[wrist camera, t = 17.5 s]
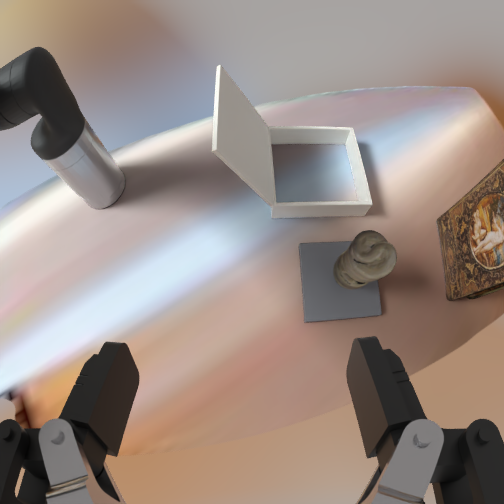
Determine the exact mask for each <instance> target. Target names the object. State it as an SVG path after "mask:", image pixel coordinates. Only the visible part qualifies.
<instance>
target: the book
mask: <svg viewBox="0 0 504 504" xmlns="http://www.w3.org/2000/svg"><path fill="white" fill-rule="evenodd" d="M436 223H437V228H438V234H439V240H440V247H441V253H442V261H443V269H444V278H445V287H446V296H447V299H448V300H456V299H459V298H462V297H465V296H467V298H468V299H475V298H478V297H481V296H484V295H487V294H490V293H492V292H495V291H498V290H501V289H504V159H503V160H502V161H501V162H500V163H499V164H498V165H497V166H496V167H495V168H494V169H493V170H492V171H491V172H490V173H489V174H487V175H486V176H485V177H484V178H483V179H482V180H481V181H480V182H479V183H478V184H477V185H476V186H475V187H474V188H472V189H471V190H470V191H469V192H468V193H467V194H466V195H465V196H464V197H462V198H461V199H460V200H459V201H458V202H457V203H456V204H455V205H453V206H452V207H451V208H450V209H449V210H448V211H446V212H445V213H444V214H443V215H442V216H441V217H439V218H438V219H437V221H436Z"/></svg>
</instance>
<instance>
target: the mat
mask: <svg viewBox="0 0 504 504" xmlns="http://www.w3.org/2000/svg"><path fill="white" fill-rule="evenodd" d="M351 242H352V241H346V242H320V243H300V244H299V255H300V267H301V280H302V293H303V308H304V323H305V322H318V321H330V320H342V319H352V318H362V317H371V316H379V315H382V314H381V304H380V295H379V286H378V280H375V281H372V282H369V283H368V284H366V285H364V286H363V287H360V288H358V289H353V290H350V289H345V288H343V287H341V286H340V285H339V284H338V283H337V282H336V280H335V278H334V274H333V267H334V264H335V262H336V260H337V259H338V257H339V256H340V255H341V254H342V253H343V252H344V251H346V250H347V249H348V247H349V246H350V244H351Z"/></svg>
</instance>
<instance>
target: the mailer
mask: <svg viewBox="0 0 504 504" xmlns="http://www.w3.org/2000/svg"><path fill="white" fill-rule="evenodd" d="M271 144H342V145H345V146H346V150H347V154H348V158H349V162H350V166H351V171H352V175H353V180H354V184H355V189H356V194H357V199H358V201H321V202H282V203H276V192H275V180H274V169H273V158H272V147H271ZM212 152H213V153H214V154H215V155H216V156H217V157H219V158H220V159H221V160H222V161H223V162H224V163H225V164H226V165H227V166H228V167H229V168H230V169H232V170H233V171H234V172H235V173H236V174H237V175H238V176H239V177H240V178H241V179H242V180H243V181H244V182H245V183H246V184H247V185H249V186H250V187H251V188H252V189H253V190H254V191H255V192H256V193H257V194H258V195H259V196H260V197H261V198H262V199H263V200H264V201H265V202H266V203H267V204H268V205H269V206H270V207H271V216H272V219H275V218H303V217H342V216H365V214H366V213H367V211H368V210H369V209H370V207H371V206H372V200H371V196H370V191H369V187H368V182H367V178H366V174H365V170H364V166H363V162H362V159H361V155H360V151H359V147H358V144H357V140H356V137H355V133H354V130H353V128H346V127H320V126H272V127H268V126H267V124H266V123H265V122H264V120H263V119H262V118H261V116H260V115H259V114H258V112H257V111H256V110H255V108H254V107H253V106H252V104H251V103H250V102H249V100H248V99H247V98H246V96H245V95H244V94H243V92H242V91H241V90H240V88H239V87H238V86H237V85H236V83H235V82H234V81H233V80H232V78H231V77H230V76H229V75H228V73H227V72H226V71H225V70H224V69H223V67H222V66H221V65H219V66H217V73H216V87H215V102H214V119H213V138H212Z"/></svg>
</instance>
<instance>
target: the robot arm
mask: <svg viewBox="0 0 504 504" xmlns="http://www.w3.org/2000/svg"><path fill="white" fill-rule="evenodd" d="M37 114H41V116H42V118H41V119H40V121H39V122H38V124H37V125H36V127H35V129H34V131H33V133H32V137H31V146H32V149H33V150H34V152H36V154H37V155H38V156H39V157H40V158H41V159H42V160H43V161H44V162H45V163H46V164H47V165H48V166H49V167H50V168H51V169H52V170H53V171H54V172H55V173H56V174H57V175H58V176H59V177H60V178H61V179H62V180H63V181H64V182H65V183H66V184H67V185H68V186H69V187H70V188H71V189H72V190H73V191H74V192H75V193H76V194H78V195H79V196H80V197H81V198H82V199H83V200H84V201H85V202H86V203H87V204H88V205H89V206H90V207H92V208H95V209H103V208H106V207H108V206H110V205H112V204H113V203H114V202H115V201H116V200H117V199H118V198H119V197H120V195H121V194H122V192H123V190H124V187H125V176H124V174H123V172H122V171H121V170H120V168H119V167H118V165H117V164H116V163H115V161H114V160H113V158H112V157H111V155H110V154H109V153H108V151H107V150H106V148H105V147H104V145H103V144H102V142H101V141H100V140H99V138H98V137H97V135H96V134H95V132H94V131H93V129H92V128H91V127H90V125H89V123H88V122H87V121H86V119H85V117H84V116H83V114H82V113H81V111H80V109H79V106H78V104H77V101H76V99H75V97H74V95H73V93H72V92H71V90H70V88H69V86H68V84H67V83H66V80H65V79H64V77H63V75H62V73H61V70H60V69H59V66H58V65H57V63H56V61H55V59H54V58H53V56H52V55H51V54H50V53H49V52H48V51H47V50H46V49H44V48H42V47H35V48H33V49H31V50H29V51H27V52H25V53H23V54H22V55H20V56H19V57H17V58H16V59H14V60H12V61H11V62H9V63H8V64H7V65H5V66H4V67H2V68H1V69H0V131H1V130H6V129H10V128H13V127H15V126H17V125H19V124H21V123H23V122H24V121H26V120H28V119H29V118H31V117H33V116H35V115H37ZM75 383H76V385H74V386H73V389H72V391H71V393H70V395H69V397H68V399H67V401H66V404H65V406H64V408H63V410H62V412H61V415H60V416H59V418H58V419H52V420H49V421H48V422H46V423H45V424H44V425H43V426H42V428H36V429H23V428H22V427H21V426H20V425H19V424H18V423H17V422H16V421H15V420H12V419H7V420H4V421H3V422H1V423H0V504H126V503H125V501H124V499H123V497H122V495H121V493H120V491H119V489H118V487H117V485H116V483H115V481H114V479H113V477H112V475H111V473H110V471H109V469H108V466H107V464H106V463H105V458H106V454H107V455H112V456H116V457H117V456H118V452H119V448H120V445H121V441H122V438H123V434H124V431H125V428H126V424H127V421H128V418H129V414H130V411H131V408H132V405H133V401H134V398H135V395H136V392H137V389H138V386H139V372H138V369H137V367H136V364H135V362H134V360H133V357H132V355H131V353H130V350H129V348H128V346H127V344H126V343H117V342H105V343H104V345H103V346H102V348H101V350H100V352H99V354H98V355H97V354H94V355H93V356H92V357H91V358H90V359H89V360H88V361H87V362H86V363H85V364H84V366H83V368H82V370H81V372H80V376H78V378H77V380H76V382H75ZM347 383H348V387H349V390H350V394H351V397H352V401H353V405H354V408H355V412H356V416H357V420H358V424H359V428H360V431H361V436H362V439H363V444H364V448H365V452H366V456H367V458H371V457H376V456H377V458H378V462H379V465H378V466H377V468H376V470H375V471H374V473H373V475H372V477H371V479H370V481H369V482H368V484H367V486H366V488H365V489H364V491H363V493H362V494H361V496H360V498H359V499H358V501H357V503H356V504H425V502H424V501H423V498H424V495H425V493H426V490H427V488H428V485H429V483H432V485H433V489H434V494H435V498H436V503H437V504H504V442H503V440H502V438H501V435H500V432H499V430H498V428H497V427H496V425H495V424H494V423H493V422H491V421H489V420H487V419H478V420H475V421H474V422H473V423H471V424H470V425H469V427H468V428H467V429H443V428H440V427H439V426H438V425H437V424H436V423H435V422H433V421H431V420H428V419H427V418H426V416H425V414H424V412H423V409H422V407H421V404H420V402H419V400H418V397H417V395H416V393H415V390H414V388H413V386H412V384H411V382H410V381H409V377H408V375H407V372H405V368H404V366H403V364H402V362H401V360H400V358H399V357H398V356H397V355H396V354H395V353H394V352H393V351H392V350H391V349H386V350H383V349H382V347H381V345H380V343H379V340H378V339H377V337H375V336H373V337H365V338H357V339H354V341H353V345H352V349H351V353H350V357H349V361H348V365H347ZM21 467H23V468H24V469H25V473H24V476H23V479H22V483H21V486H20V490H19V493H18V496H17V498H16V496H15V487H16V484H17V480H18V477H19V474H20V470H21Z"/></svg>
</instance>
